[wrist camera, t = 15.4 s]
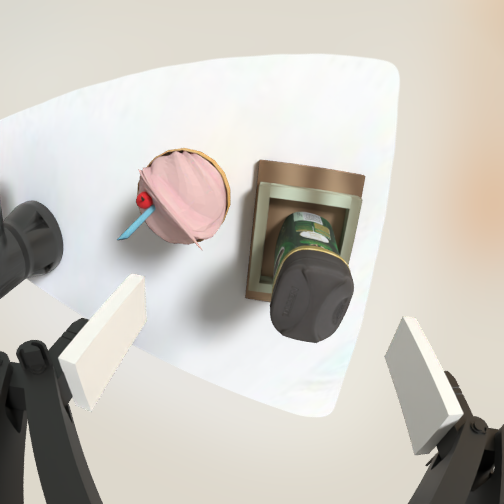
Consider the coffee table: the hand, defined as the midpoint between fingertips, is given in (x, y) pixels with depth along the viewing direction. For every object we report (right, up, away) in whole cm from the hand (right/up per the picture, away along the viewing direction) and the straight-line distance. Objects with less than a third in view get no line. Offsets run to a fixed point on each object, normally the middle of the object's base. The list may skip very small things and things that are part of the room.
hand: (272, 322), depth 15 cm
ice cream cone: (-7, +14, +30) cm, 34 cm away
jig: (+6, +5, +32) cm, 33 cm away
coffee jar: (+7, +5, +31) cm, 32 cm away
